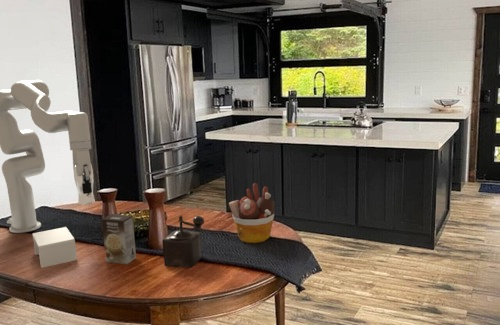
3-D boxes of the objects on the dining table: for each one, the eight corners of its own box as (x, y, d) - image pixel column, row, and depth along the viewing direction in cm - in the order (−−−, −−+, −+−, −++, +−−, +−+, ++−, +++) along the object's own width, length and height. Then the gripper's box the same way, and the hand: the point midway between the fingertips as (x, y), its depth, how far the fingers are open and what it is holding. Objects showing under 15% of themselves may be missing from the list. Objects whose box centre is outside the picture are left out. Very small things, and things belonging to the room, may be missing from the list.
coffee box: (105, 262, 173) (100, 218, 170) (115, 255, 179) (111, 213, 175) (127, 264, 170) (123, 220, 167) (137, 257, 176) (133, 215, 172)
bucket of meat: (271, 248, 179) (270, 196, 175) (228, 247, 182) (225, 195, 178) (278, 229, 198) (277, 182, 194) (238, 228, 201) (236, 182, 197)
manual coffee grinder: (162, 266, 167) (158, 216, 163) (176, 254, 177) (172, 206, 174) (204, 270, 163) (201, 218, 159) (216, 257, 173) (213, 208, 169)
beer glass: (90, 205, 184) (86, 166, 181) (73, 204, 186) (69, 166, 183) (99, 200, 191) (95, 162, 188) (83, 199, 193) (79, 162, 190)
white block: (35, 253, 184) (32, 233, 182) (68, 246, 189) (66, 226, 188) (41, 268, 170) (38, 246, 168) (77, 259, 176) (74, 238, 174)
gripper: (65, 143, 189) (70, 188, 193) (74, 149, 175) (80, 197, 178) (85, 141, 193) (90, 185, 197) (96, 147, 178) (101, 194, 182)
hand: (85, 190), depth 188 cm, fingers closed on beer glass, 6 cm apart
